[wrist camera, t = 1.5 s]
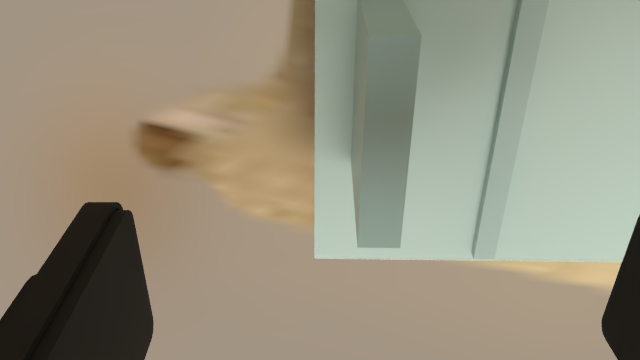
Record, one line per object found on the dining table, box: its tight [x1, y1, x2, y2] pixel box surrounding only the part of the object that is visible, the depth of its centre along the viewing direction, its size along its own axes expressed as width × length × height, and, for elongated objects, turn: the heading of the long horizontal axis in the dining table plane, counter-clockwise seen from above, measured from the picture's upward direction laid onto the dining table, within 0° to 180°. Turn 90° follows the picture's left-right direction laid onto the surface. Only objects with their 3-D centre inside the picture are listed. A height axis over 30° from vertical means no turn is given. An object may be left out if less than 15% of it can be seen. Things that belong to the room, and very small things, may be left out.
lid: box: [314, 0, 640, 262], centre depth 17 cm, size 20×15×7 cm
